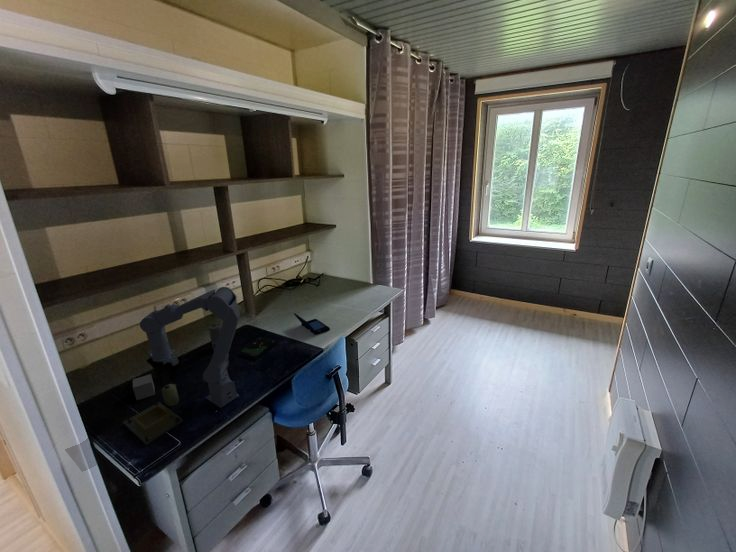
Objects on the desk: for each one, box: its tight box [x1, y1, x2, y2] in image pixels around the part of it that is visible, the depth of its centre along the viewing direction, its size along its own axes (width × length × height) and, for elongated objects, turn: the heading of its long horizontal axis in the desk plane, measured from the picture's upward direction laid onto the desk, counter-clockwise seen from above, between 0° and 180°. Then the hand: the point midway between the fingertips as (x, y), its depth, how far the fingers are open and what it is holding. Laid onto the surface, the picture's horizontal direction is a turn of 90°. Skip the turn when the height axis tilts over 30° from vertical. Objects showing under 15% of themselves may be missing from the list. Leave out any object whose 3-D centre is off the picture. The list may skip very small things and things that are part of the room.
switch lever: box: [161, 383, 180, 408], centre depth 123 cm, size 5×5×7 cm
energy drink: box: [208, 323, 222, 351], centre depth 158 cm, size 5×5×12 cm
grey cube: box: [132, 373, 156, 401], centre depth 129 cm, size 6×6×6 cm
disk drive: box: [239, 336, 278, 361], centre depth 158 cm, size 10×3×15 cm
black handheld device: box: [293, 313, 331, 336], centre depth 175 cm, size 16×13×9 cm
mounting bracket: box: [122, 401, 184, 446], centre depth 114 cm, size 16×12×4 cm
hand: (167, 376), depth 123 cm, fingers open, 7 cm apart
